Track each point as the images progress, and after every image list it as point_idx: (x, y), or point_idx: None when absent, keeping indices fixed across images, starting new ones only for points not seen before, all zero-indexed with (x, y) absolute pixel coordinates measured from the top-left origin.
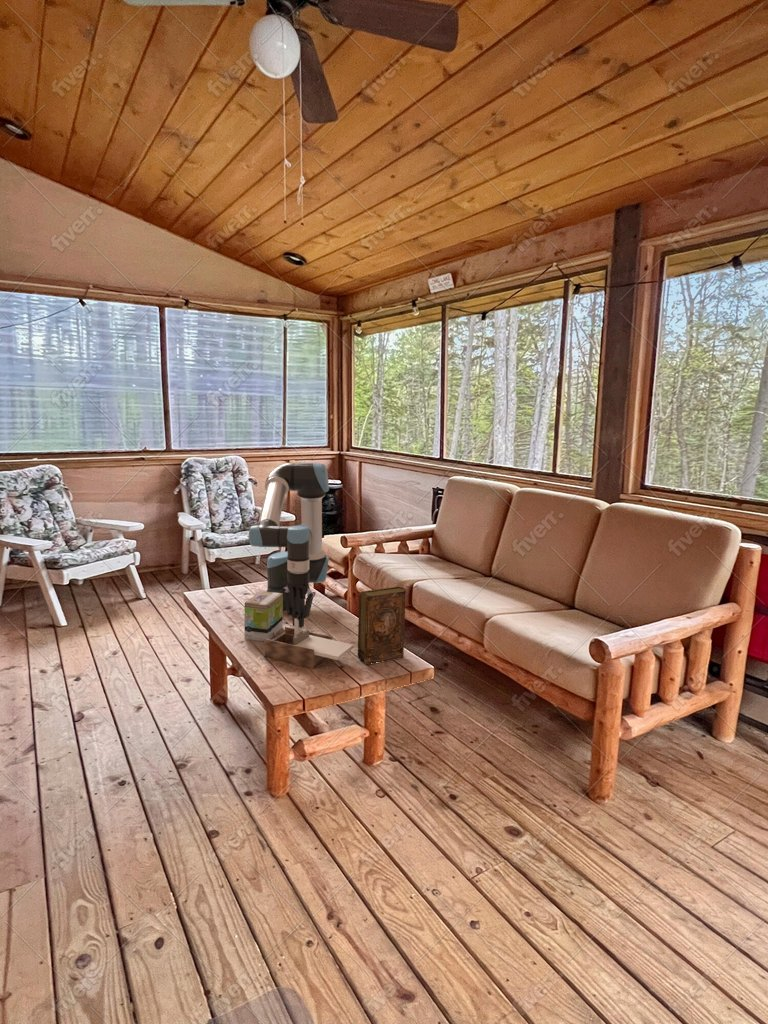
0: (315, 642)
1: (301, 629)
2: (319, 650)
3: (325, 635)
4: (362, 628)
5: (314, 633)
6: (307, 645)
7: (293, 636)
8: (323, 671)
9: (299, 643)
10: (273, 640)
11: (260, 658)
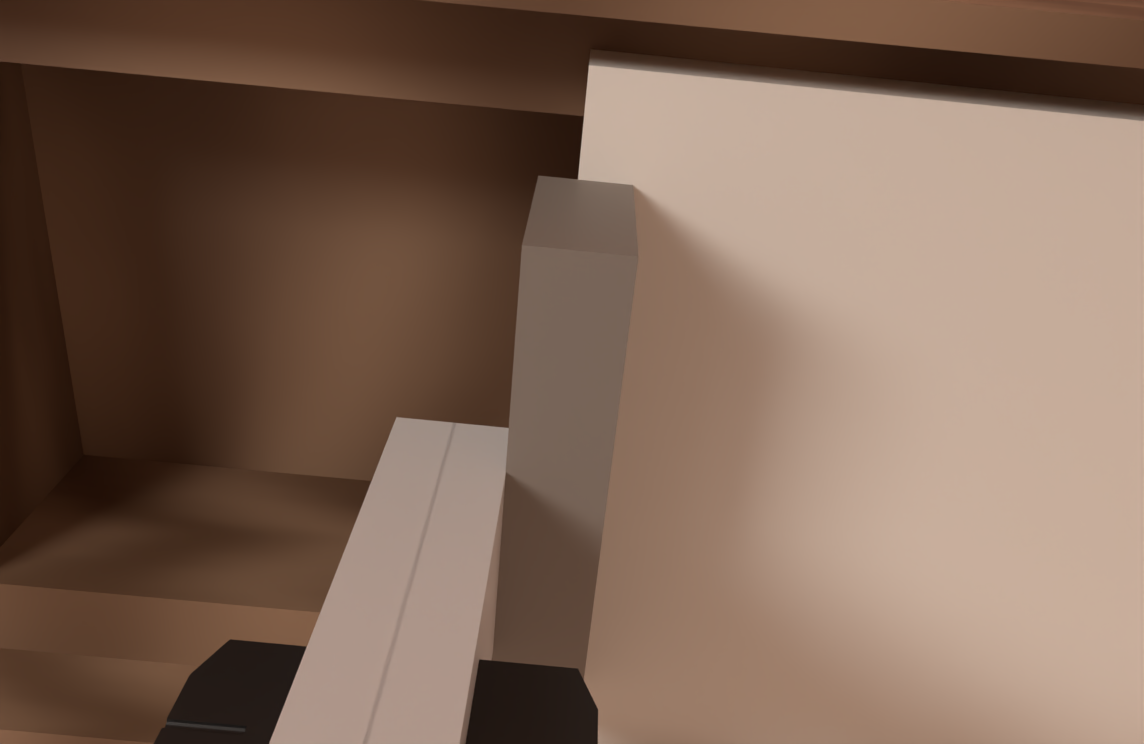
0: (935, 446)
1: (495, 555)
2: (1141, 737)
3: (1139, 30)
4: None
5: (737, 24)
6: (812, 630)
7: (122, 65)
8: None
9: (601, 604)
10: (65, 735)
11: None
